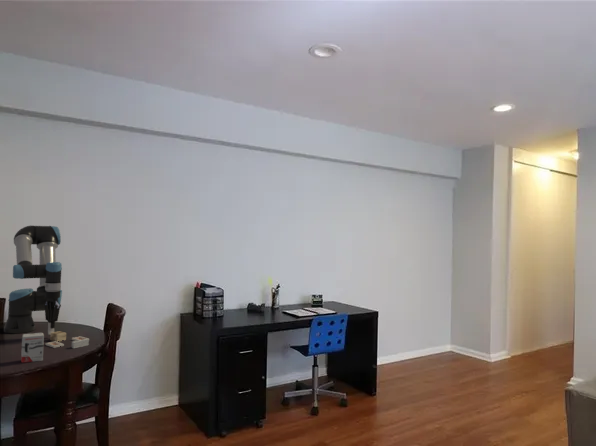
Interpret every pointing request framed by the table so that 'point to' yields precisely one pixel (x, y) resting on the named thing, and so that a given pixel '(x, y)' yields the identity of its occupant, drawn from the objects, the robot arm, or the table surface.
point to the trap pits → (57, 344)
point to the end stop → (80, 343)
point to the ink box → (32, 347)
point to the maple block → (58, 336)
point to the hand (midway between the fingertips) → (51, 334)
